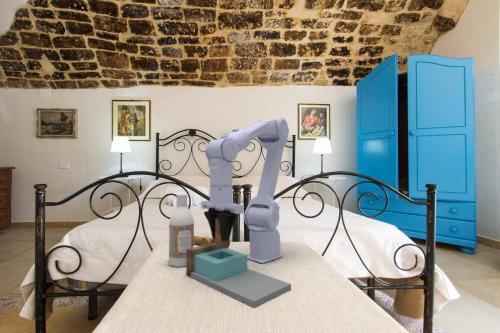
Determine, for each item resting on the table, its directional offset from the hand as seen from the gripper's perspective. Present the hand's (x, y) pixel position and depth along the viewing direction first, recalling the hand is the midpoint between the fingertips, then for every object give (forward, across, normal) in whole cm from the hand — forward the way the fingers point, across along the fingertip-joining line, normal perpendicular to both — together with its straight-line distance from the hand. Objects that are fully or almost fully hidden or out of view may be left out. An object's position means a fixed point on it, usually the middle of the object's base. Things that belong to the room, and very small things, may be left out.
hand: (220, 239), depth 70 cm
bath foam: (+9, -16, -2) cm, 18 cm away
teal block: (+8, 0, 0) cm, 8 cm away
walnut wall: (+9, -6, 0) cm, 11 cm away
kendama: (+10, -24, +14) cm, 29 cm away
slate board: (+9, +6, 0) cm, 11 cm away
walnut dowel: (+2, 0, 0) cm, 2 cm away
